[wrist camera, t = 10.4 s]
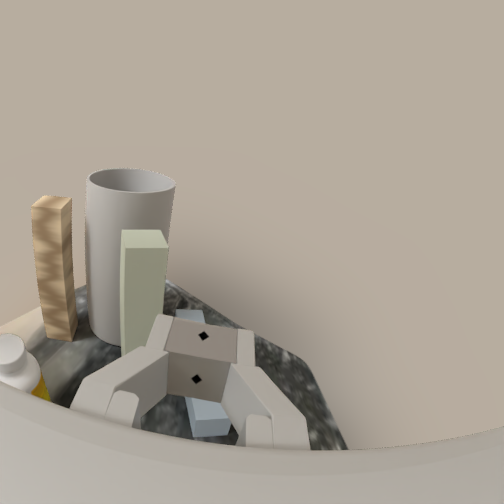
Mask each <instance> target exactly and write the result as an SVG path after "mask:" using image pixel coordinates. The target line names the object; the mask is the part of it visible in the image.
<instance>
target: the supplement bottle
mask: <svg viewBox="0 0 504 504" xmlns="http://www.w3.org/2000/svg"><path fill="white" fill-rule="evenodd" d="M0 381H2V382H4V383H6V384H8V385H11V386H13V387H15V388H17V389H20V390H22V391H24V392H27V393H29V394H31V395H34V396H36V397H39V398H41V399H44V400H46V401H49V402H51V399H50V396H49V393H48V391H47V388H46V385H45V382H44V379H43V376H42V373H41V370H40V367H39V364H38V362H37V360H36V359H35V357H34V356H33V355H32V354H30V353H29V352H27V351H26V348H25V345H24V342H23V340H22V339H21V338H20V337H18V336H17V335H14V334H9V333H7V334H1V335H0Z"/></svg>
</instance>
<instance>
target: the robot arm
mask: <svg viewBox="0 0 504 504" xmlns="http://www.w3.org/2000/svg"><path fill="white" fill-rule="evenodd" d="M166 394H172V395H178V396H184V397H190V398H196V399H201V400H206V401H212V402H217V403H221V406H222V408H223V409H224V411H225V413H226V414H227V416H228V418H229V419H230V421H231V423H232V425H233V426H234V428H235V430H236V431H237V433H238V434H239V437H238V440H237V443H236V445H235V446H232V445H224V444H216V443H209V442H202V441H196V440H190V439H184V438H178V437H173V436H168V435H163V434H158V433H154V432H149V431H145V430H141V423H140V418H141V417H142V416H143V415H144V414H146V413H147V412H148V411H149V410H150V409H151V408H152V407H153V406H154V405H156V404H157V403H158V402H159V401H160V400H161V399H162V398H163V397H165V396H166ZM0 504H504V426H503V427H500V428H496V429H493V430H489V431H485V432H480V433H476V434H472V435H467V436H462V437H457V438H452V439H447V440H441V441H435V442H429V443H422V444H415V445H406V446H397V447H387V448H375V449H359V450H310V443H309V437H308V431H307V424H306V418H305V417H304V416H303V415H302V414H301V412H300V411H299V410H298V409H297V408H296V407H295V406H294V405H293V404H292V403H291V402H290V400H289V399H288V398H287V397H286V396H285V395H284V394H283V393H282V392H281V391H280V389H279V388H278V387H277V386H276V385H275V384H274V383H273V382H272V380H271V379H270V378H269V377H268V376H267V375H266V374H265V372H264V371H263V370H262V369H261V368H260V367H255V345H254V332H253V331H252V330H245V329H234V328H228V327H222V326H216V325H211V324H206V323H201V322H196V321H192V320H187V319H182V318H178V317H173V316H168V315H163V314H158V315H157V317H156V319H155V322H154V324H153V327H152V330H151V333H150V335H149V338H148V341H147V343H146V346H145V347H144V346H140V347H138V348H136V349H134V350H133V351H131V352H129V353H127V354H126V355H124V356H122V357H120V358H119V359H117V360H115V361H113V362H112V363H110V364H108V365H106V366H105V367H103V368H101V369H99V370H98V371H96V372H94V373H92V374H90V375H89V376H87V377H85V378H83V381H82V383H81V385H80V387H79V389H78V391H77V393H76V395H75V397H74V400H73V402H72V404H71V406H70V408H69V409H68V408H65V407H63V406H60V405H57V404H54V403H52V402H49V401H46V400H44V399H41V398H39V397H36V396H34V395H31V394H29V393H27V392H24V391H22V390H20V389H17V388H15V387H13V386H11V385H8V384H6V383H4V382H2V381H0Z"/></svg>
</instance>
